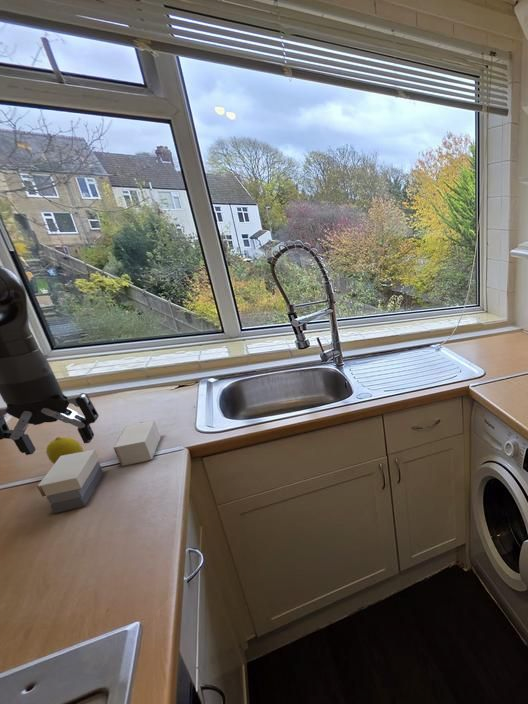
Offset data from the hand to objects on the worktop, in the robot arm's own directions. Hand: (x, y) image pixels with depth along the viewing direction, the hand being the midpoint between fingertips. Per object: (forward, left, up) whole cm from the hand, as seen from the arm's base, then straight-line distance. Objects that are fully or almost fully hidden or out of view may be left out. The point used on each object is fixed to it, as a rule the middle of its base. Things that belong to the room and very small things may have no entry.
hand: (60, 447), depth 83 cm
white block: (+8, +14, -11) cm, 19 cm away
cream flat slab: (0, 0, -7) cm, 7 cm away
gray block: (0, 0, -11) cm, 11 cm away
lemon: (-5, +13, -11) cm, 18 cm away
